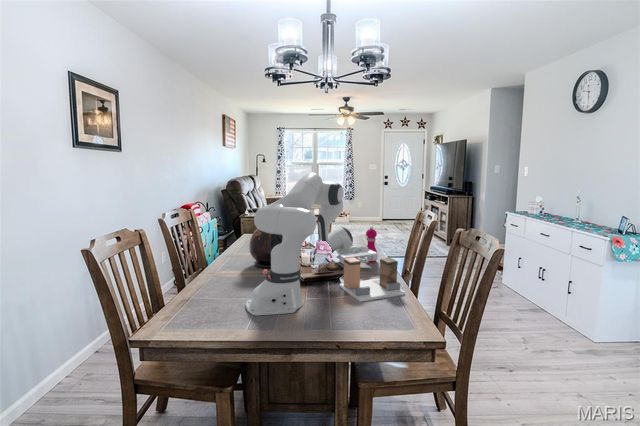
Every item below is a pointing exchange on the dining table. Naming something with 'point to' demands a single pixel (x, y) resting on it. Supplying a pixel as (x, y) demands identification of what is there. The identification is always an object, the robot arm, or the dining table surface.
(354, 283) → the terracotta plug
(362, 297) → the plate
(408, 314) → the dining table surface
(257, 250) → the amphora vase
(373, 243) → the pepper mill
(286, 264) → the robot arm
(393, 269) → the walnut plug
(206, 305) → the dining table surface
